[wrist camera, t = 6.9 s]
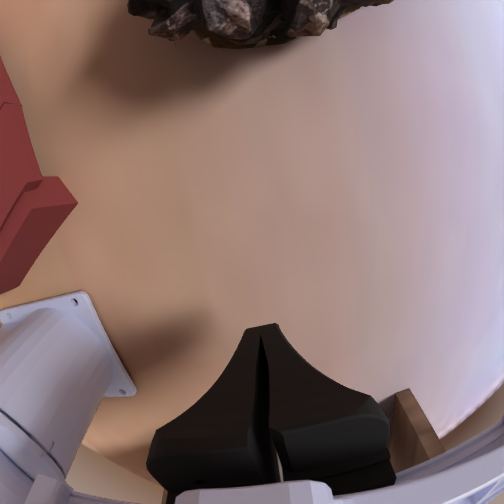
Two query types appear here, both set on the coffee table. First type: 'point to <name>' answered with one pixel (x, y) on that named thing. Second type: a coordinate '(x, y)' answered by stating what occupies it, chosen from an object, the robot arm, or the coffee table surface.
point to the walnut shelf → (406, 435)
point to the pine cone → (244, 19)
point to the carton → (24, 194)
